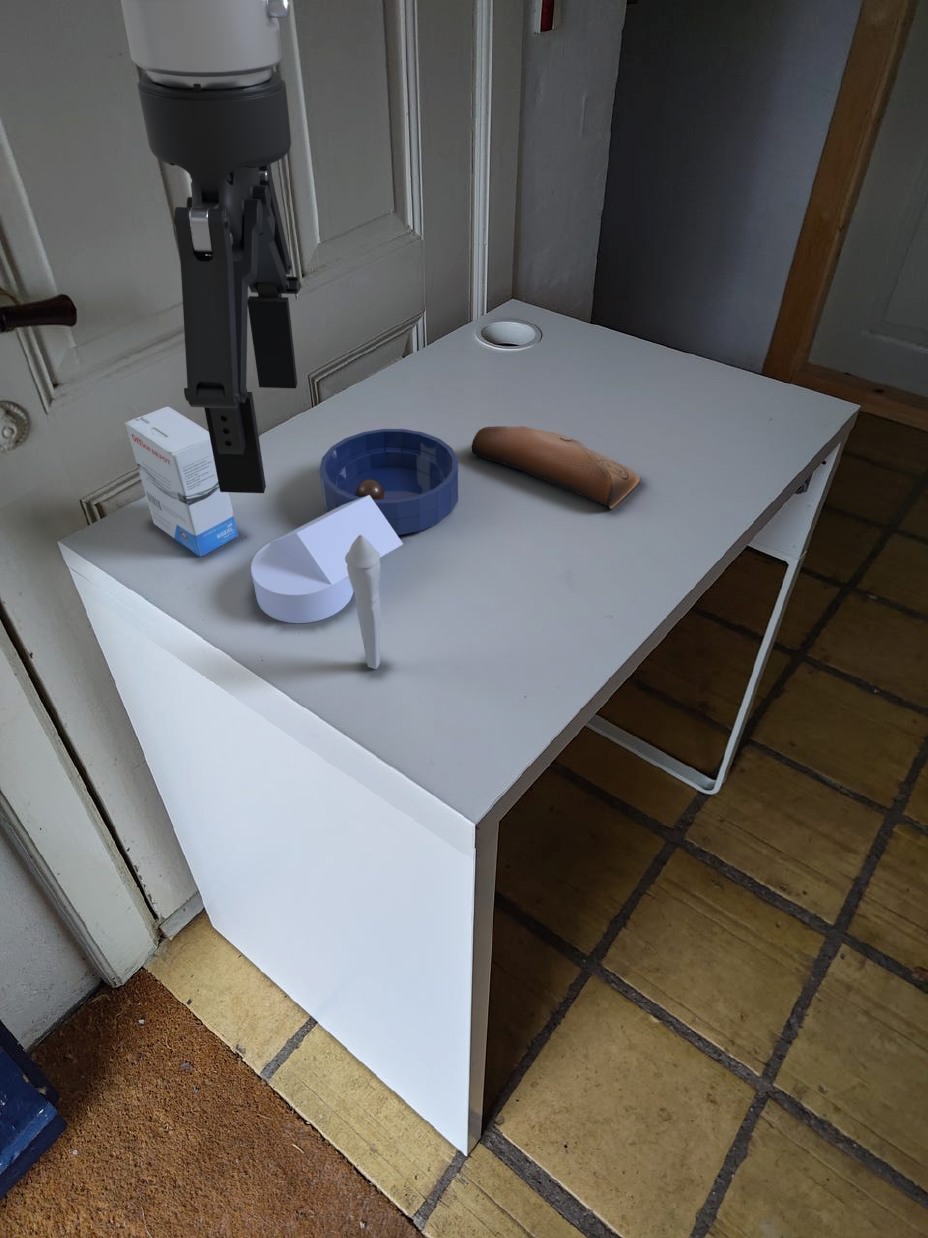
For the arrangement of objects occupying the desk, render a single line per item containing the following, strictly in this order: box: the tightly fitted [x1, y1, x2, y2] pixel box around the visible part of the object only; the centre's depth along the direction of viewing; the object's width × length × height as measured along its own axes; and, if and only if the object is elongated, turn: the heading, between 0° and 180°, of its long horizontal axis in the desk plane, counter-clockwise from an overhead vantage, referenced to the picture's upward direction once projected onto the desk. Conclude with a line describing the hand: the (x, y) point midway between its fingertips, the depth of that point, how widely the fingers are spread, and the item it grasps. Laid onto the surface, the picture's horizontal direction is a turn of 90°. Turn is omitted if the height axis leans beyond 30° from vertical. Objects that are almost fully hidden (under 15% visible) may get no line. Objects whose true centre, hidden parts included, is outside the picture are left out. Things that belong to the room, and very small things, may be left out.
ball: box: [355, 479, 384, 500], centre depth 89 cm, size 3×3×3 cm
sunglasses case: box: [470, 425, 642, 510], centre depth 95 cm, size 18×7×7 cm
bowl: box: [318, 428, 459, 536], centre depth 91 cm, size 14×14×4 cm
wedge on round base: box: [250, 495, 404, 624], centre depth 80 cm, size 9×7×13 cm
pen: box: [345, 535, 382, 670], centre depth 69 cm, size 2×3×14 cm
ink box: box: [124, 406, 239, 557], centre depth 84 cm, size 8×5×12 cm, turn 46°
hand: (262, 433), depth 59 cm, fingers open, 13 cm apart
